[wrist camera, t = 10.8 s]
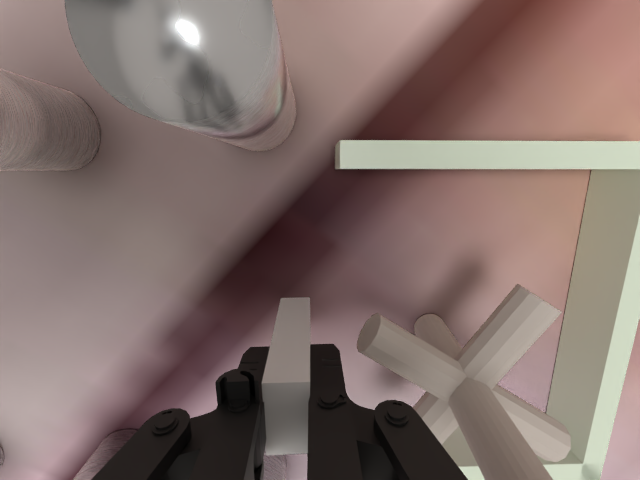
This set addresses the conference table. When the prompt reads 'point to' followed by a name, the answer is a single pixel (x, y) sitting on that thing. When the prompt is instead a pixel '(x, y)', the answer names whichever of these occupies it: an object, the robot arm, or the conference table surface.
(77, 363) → the conference table surface
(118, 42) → the set of silver pegs
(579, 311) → the corral
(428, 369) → the beige rod cross
